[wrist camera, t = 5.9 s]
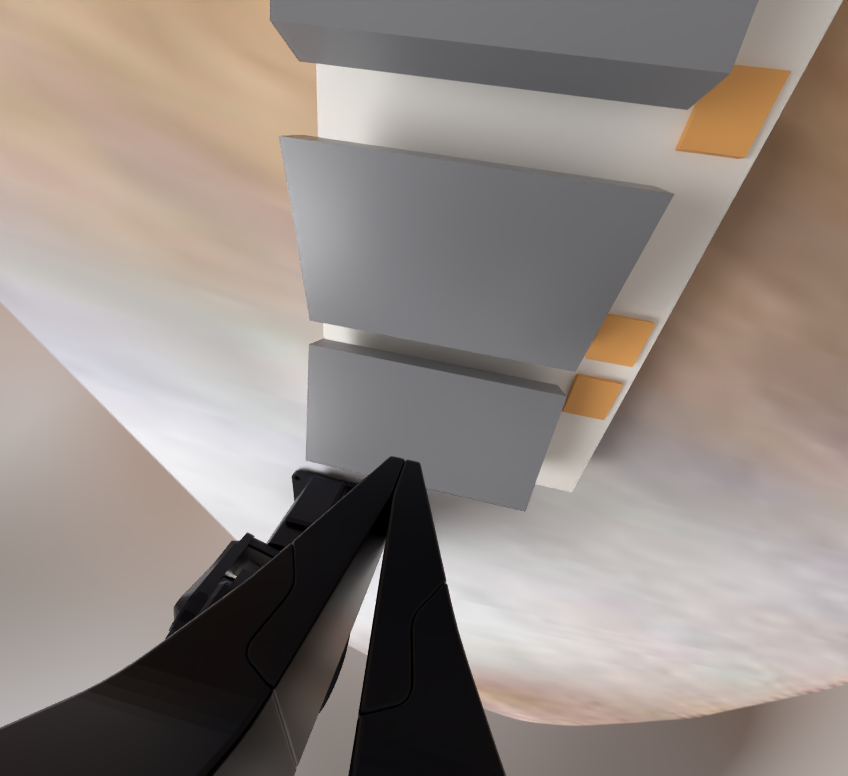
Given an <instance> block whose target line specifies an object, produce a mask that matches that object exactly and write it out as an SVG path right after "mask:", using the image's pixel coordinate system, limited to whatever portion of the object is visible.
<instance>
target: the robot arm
mask: <svg viewBox="0 0 848 776" xmlns="http://www.w3.org/2000/svg"><path fill="white" fill-rule="evenodd" d="M292 483H293V492H294V501H295V502H294V503H293V505H292V506H291V507H290V509H289V510H288V512H287V513H286V515H285V516H284V518H283V519H282V521H281V522H280V524H279V525H278V527H277V528H276V530H275V531H274V533H273V534H272V536H271V537H270V539H269V540H268V542H267V543H264V542H262V541H260V540H258V539H256V538H254V536H253V535H252V534H250V533H248V532H247V533H246V534H245V536H244V537H243V538H242V539H241V540H240V541H231V543H230V544H229V545H228V546H227V548H226V549H225V550H224V551H223V553H222V554H221V555H220V556H219V558H218V559H217V560H216V561H215V563H214V564H213V565H212V566H211V567H210V568H209V569H208V570H207V571H206V572H205V573H204V574H203V575H202V576H201V577H200V578H199V579H198V580H197V581H196V582H195V583H194V584H193V585H192V587H190V588H189V590H187V591H186V593H185V594H184V595H183V596H182V597H181V598H180V599H179V600H178V602H177V603H176V605H175V606H174V622H173V623H172V625H171V627H170V629H169V631H170V632H169V634H168V635H167V637H166V639H165V640H164V641H163V642H161V643H160V644H159V645H157V646H156V647H154V648H153V649H152V650H150V651H149V652H148V653H146V654H145V655H143V656H142V657H140V658H139V659H138V660H136V661H135V662H133V663H132V664H130V665H128V666H127V667H125V668H124V669H122V670H121V671H119V672H117V673H116V674H114V675H112V676H111V677H109V678H107V679H105V680H104V681H102V682H100V683H98V684H96V685H94V686H92V687H90V688H88V689H86V690H85V691H83V692H80V693H78V694H76V695H74V696H71V697H69V698H67V699H65V700H62V701H60V702H58V703H55V704H53V705H51V706H49V707H46V708H44V709H42V710H40V711H37V712H35V713H33V714H30V715H28V716H26V717H24V718H21V719H19V720H17V721H14V722H12V723H10V724H8V725H5V726H3V727H1V728H0V776H294V774H295V772H296V767H297V766H298V764H299V762H300V759H301V757H302V754H303V751H304V749H305V746H306V744H307V741H308V739H309V736H310V734H311V731H312V729H313V726H314V724H315V721H316V719H317V716H318V714H319V713H320V711H321V710H322V709H323V707H324V706H325V704H326V702H327V700H328V698H329V697H330V694H331V692H332V690H333V688H334V685H335V683H336V681H337V679H338V675H339V673H340V671H341V668H342V665H343V662H344V658H345V655H346V651H347V646H348V642H349V637H350V633H351V630H352V627H353V625H354V622H355V620H356V617H357V615H358V612H359V610H360V607H361V605H362V602H363V600H364V597H365V594H366V592H367V589H368V587H369V584H370V582H371V579H372V577H373V574H374V572H375V569H376V567H377V564H378V562H379V559H380V557H381V554H382V551H383V549H384V554H383V560H382V567H381V573H380V579H379V586H378V592H377V598H376V605H375V611H374V618H373V624H372V630H371V637H370V643H369V649H368V656H367V662H366V669H365V675H364V681H363V688H362V694H361V701H360V707H359V715H358V720H357V726H356V733H355V739H354V745H353V751H352V757H351V764H350V770H349V776H506V773H505V771H504V768H503V765H502V762H501V759H500V757H499V754H498V751H497V748H496V745H495V742H494V739H493V736H492V733H491V730H490V727H489V724H488V721H487V718H486V715H485V712H484V709H483V706H482V703H481V700H480V697H479V694H478V691H477V688H476V685H475V682H474V679H473V676H472V673H471V670H470V667H469V664H468V661H467V657H466V654H465V651H464V648H463V644H462V641H461V638H460V634H459V631H458V627H457V623H456V619H455V615H454V611H453V607H452V603H451V599H450V594H449V590H448V585H447V584H446V577H445V572H444V568H443V563H442V559H441V554H440V550H439V545H438V541H437V536H436V531H435V527H434V522H433V518H432V513H431V509H430V504H429V500H428V495H427V490H426V486H425V481H424V477H423V472H422V468H421V464H420V463H419V462H417V461H413V460H408V459H407V460H406V461H405V460H404V459H403V458H399V457H395V456H390V457H389V458H388V459H386V460H385V461H384V462H383V463H382V464H381V465H379V466H378V467H377V468H376V469H375V470H374V471H373V472H371V473H370V474H369V475H368V476H367V477H366V478H365V479H363V480H362V481H361V482H360V483H359V484H355V483H350V482H346V481H342V480H338V479H333V478H329V477H325V476H321V475H316V474H312V473H308V472H304V471H299V470H297V471H295V472H294V474H293V475H292ZM384 546H385V547H384ZM233 575H236V576H237V577H236V579H235V578H233V577H232V576H233Z"/></svg>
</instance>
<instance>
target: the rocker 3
mask: <svg viewBox="0 0 848 776" xmlns="http://www.w3.org/2000/svg"><path fill="white" fill-rule="evenodd" d="M566 397H567V396H566V395H565V394H564V392H563V391H562V390H561V389H560V387H559V386H558V385H555V384H550V383H545V382H540V381H535V380H530V379H525V378H520V377H515V376H510V375H505V374H499V373H494V372H489V371H484V370H479V369H474V368H469V367H464V366H459V365H454V364H449V363H444V362H439V361H434V360H429V359H424V358H419V357H414V356H409V355H404V354H399V353H394V352H389V351H384V350H379V349H374V348H369V347H364V346H359V345H354V344H349V343H344V342H339V341H334V340H328V339H321V340H319V341H316V342H314V343H311V344H309V362H308V399H307V436H306V461H311V462H315V463H319V464H323V465H328V466H332V467H336V468H341V469H345V470H349V471H354V472H358V473H362V474H366V475H369V474H370V473H371V472H373V471H374V470H375V469H376V468H377V467H378V466H379V465H381V464H382V463H383V462H384V461H385V460H386V459H388V458H389V457H390V456H395V457H399V458H403V459H404V460H405V461H406V460H407V459H408V460H413V461H417V462H419V463H420V464H421V468H422V472H423V477H424V481H425V486H426V488H427V489H431V490H435V491H440V492H444V493H448V494H452V495H457V496H461V497H465V498H470V499H474V500H478V501H483V502H487V503H491V504H495V505H500V506H504V507H508V508H513V509H517V510H521V511H525V510H526V508H527V505H528V502H529V499H530V497H531V494H532V491H533V488H534V486H535V483H536V480H537V477H538V475H539V472H540V469H541V466H542V464H543V461H544V458H545V455H546V452H547V450H548V447H549V444H550V441H551V439H552V436H553V433H554V430H555V428H556V425H557V422H558V419H559V417H560V414H561V411H562V408H563V406H564V403H565V400H566Z"/></svg>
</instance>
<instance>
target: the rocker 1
mask: <svg viewBox="0 0 848 776" xmlns="http://www.w3.org/2000/svg"><path fill="white" fill-rule="evenodd" d="M758 1H759V0H270V21H271V22H272V24H273V25H274V27H275V28H276V29H277V31H278V32H279V34H280V35H281V36H282V38H283V39H284V41H285V42H286V44H287V45H288V46H289V48H290V49H291V51H292V52H293V53H294V55H295V56H296V58H297V59H298V60H299V61H301V62H309V63H317V64H325V65H333V66H341V67H349V68H357V69H365V70H373V71H381V72H389V73H397V74H405V75H413V76H421V77H429V78H437V79H444V80H452V81H460V82H468V83H476V84H484V85H492V86H500V87H508V88H516V89H524V90H532V91H540V92H548V93H556V94H564V95H572V96H580V97H588V98H596V99H604V100H612V101H620V102H628V103H636V104H644V105H652V106H660V107H667V108H675V109H683V110H688V109H689V108H690V107H692V106H693V105H694V104H695V103H696V102H698V101H699V100H700V99H701V98H702V97H703V96H705V95H706V94H707V93H708V92H709V91H711V90H712V89H713V88H714V87H715V86H716V85H718V84H719V83H720V82H721V81H722V80H724V79H725V78H726V77H727V76H728V75H729V74H731V71H732V69H733V66H734V64H735V61H736V58H737V56H738V53H739V50H740V48H741V45H742V43H743V40H744V37H745V35H746V32H747V29H748V27H749V24H750V22H751V19H752V16H753V14H754V11H755V8H756V6H757V3H758Z"/></svg>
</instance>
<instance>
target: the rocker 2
mask: <svg viewBox="0 0 848 776" xmlns="http://www.w3.org/2000/svg"><path fill="white" fill-rule="evenodd" d="M279 139H280V145H281V151H282V157H283V163H284V169H285V175H286V181H287V187H288V193H289V199H290V205H291V211H292V217H293V223H294V229H295V235H296V241H297V247H298V252H299V258H300V264H301V270H302V276H303V282H304V288H305V294H306V300H307V306H308V312H309V318H310V321H316V322H321V323H326V324H331V325H336V326H341V327H346V328H352V329H357V330H362V331H367V332H372V333H377V334H382V335H388V336H393V337H398V338H403V339H408V340H413V341H418V342H424V343H429V344H434V345H439V346H444V347H449V348H454V349H459V350H465V351H470V352H475V353H480V354H485V355H490V356H495V357H501V358H506V359H511V360H516V361H521V362H526V363H531V364H537V365H542V366H547V367H552V368H557V369H562V370H567V371H572V372H576V370H577V368H578V366H579V365H580V363H581V361H582V359H583V358H584V356H585V354H586V352H587V350H588V349H589V347H590V345H591V343H592V341H593V340H594V338H595V336H596V334H597V332H598V331H599V329H600V327H601V325H602V323H603V322H604V320H605V318H606V316H607V314H608V313H609V311H610V309H611V307H612V305H613V304H614V302H615V300H616V298H617V296H618V295H619V293H620V291H621V289H622V287H623V286H624V284H625V282H626V280H627V279H628V277H629V275H630V273H631V271H632V270H633V268H634V266H635V264H636V262H637V261H638V259H639V257H640V255H641V253H642V252H643V250H644V248H645V246H646V244H647V243H648V241H649V239H650V237H651V235H652V234H653V232H654V230H655V228H656V226H657V225H658V223H659V221H660V219H661V217H662V216H663V214H664V212H665V210H666V208H667V207H668V205H669V203H670V201H671V199H672V198H673V196H674V194H673V193H671V192H668V191H666V190H663V189H661V188H658V187H656V186H651V185H644V184H637V183H630V182H623V181H616V180H609V179H602V178H595V177H589V176H582V175H575V174H568V173H561V172H554V171H547V170H540V169H533V168H527V167H520V166H513V165H506V164H499V163H492V162H485V161H478V160H472V159H465V158H458V157H451V156H444V155H437V154H430V153H423V152H416V151H410V150H403V149H396V148H389V147H382V146H375V145H368V144H361V143H354V142H348V141H341V140H334V139H327V138H320V137H313V136H306V135H290V136H279Z"/></svg>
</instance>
